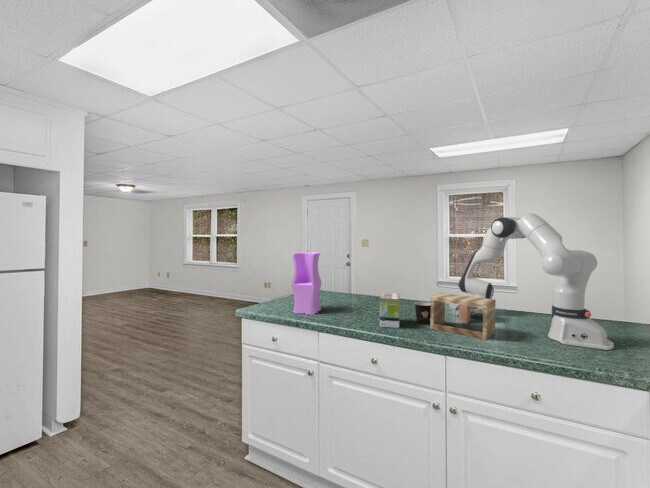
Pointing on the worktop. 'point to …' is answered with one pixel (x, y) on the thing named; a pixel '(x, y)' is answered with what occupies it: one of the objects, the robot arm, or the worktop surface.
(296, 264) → the container
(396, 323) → the tea box
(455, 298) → the shelf
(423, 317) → the coffee mug
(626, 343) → the worktop surface
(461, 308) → the block
